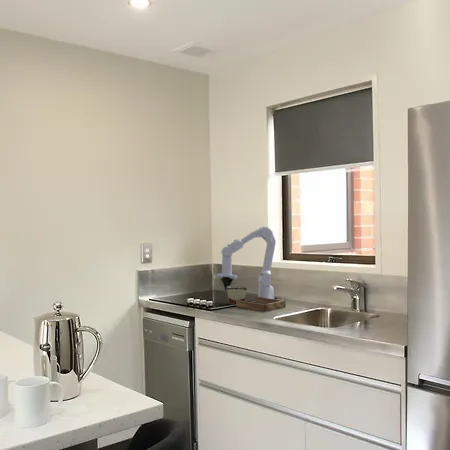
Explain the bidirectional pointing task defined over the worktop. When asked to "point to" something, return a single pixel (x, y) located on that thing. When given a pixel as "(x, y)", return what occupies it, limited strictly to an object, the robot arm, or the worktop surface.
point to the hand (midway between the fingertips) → (227, 290)
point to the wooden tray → (262, 304)
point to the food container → (236, 293)
